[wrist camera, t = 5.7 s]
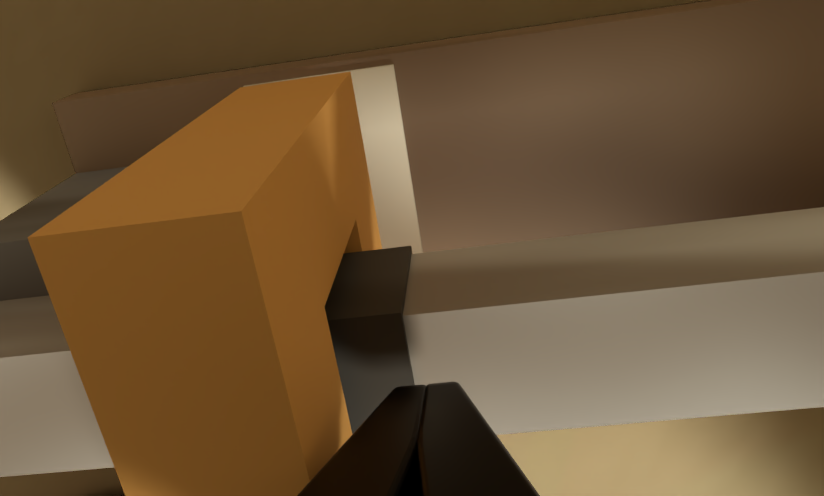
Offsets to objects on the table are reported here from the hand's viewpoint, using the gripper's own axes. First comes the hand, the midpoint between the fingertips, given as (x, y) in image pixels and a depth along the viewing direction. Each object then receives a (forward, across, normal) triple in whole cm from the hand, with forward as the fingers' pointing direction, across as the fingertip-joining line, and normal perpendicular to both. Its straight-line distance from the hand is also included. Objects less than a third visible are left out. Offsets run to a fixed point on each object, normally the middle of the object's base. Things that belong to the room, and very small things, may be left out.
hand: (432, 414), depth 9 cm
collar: (+5, +2, 0) cm, 6 cm away
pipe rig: (+8, -2, 0) cm, 8 cm away
